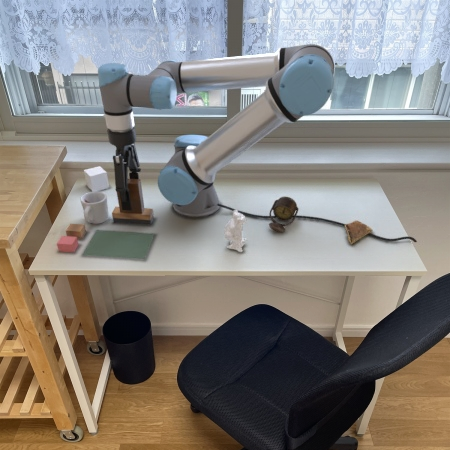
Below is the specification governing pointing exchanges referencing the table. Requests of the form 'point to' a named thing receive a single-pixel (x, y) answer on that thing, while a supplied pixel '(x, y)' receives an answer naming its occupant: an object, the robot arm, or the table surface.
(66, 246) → the eraser block
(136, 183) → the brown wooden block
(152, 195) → the table surface
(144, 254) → the desk mat
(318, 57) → the robot arm
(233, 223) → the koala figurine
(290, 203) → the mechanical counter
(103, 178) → the white cube
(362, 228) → the shard
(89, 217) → the cup
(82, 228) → the cork block
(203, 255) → the table surface
